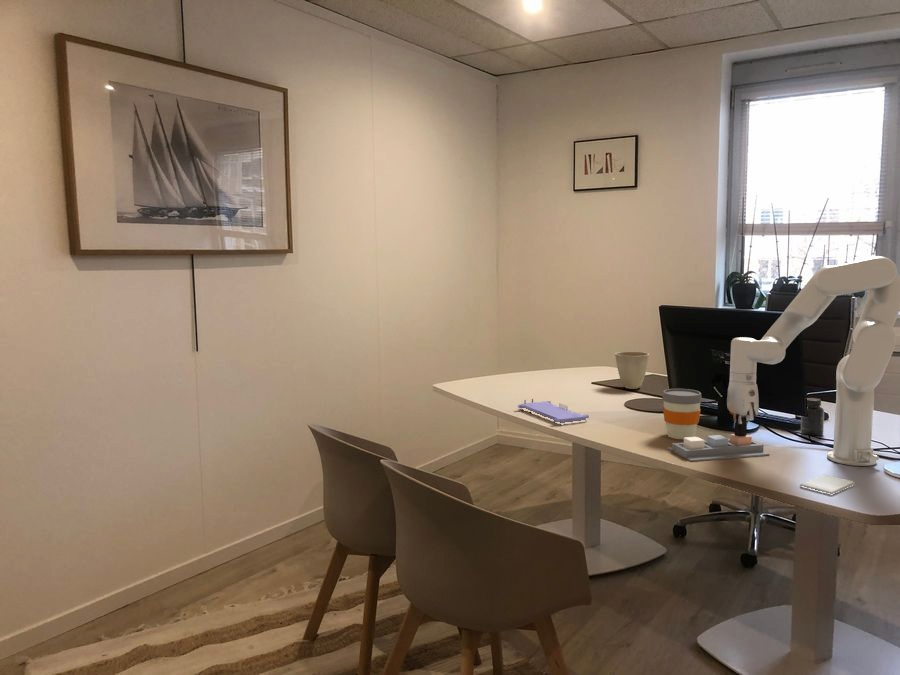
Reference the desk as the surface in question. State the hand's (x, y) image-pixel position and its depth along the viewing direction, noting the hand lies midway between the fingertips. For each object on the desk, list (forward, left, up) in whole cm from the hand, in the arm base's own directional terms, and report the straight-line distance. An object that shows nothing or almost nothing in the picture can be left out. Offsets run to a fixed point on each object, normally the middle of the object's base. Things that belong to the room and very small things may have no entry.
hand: (740, 435), depth 216 cm
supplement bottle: (+11, -34, -5) cm, 36 cm away
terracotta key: (0, 0, -3) cm, 3 cm away
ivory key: (0, +16, -3) cm, 16 cm away
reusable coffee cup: (+20, +9, -5) cm, 22 cm away
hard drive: (-35, -2, -6) cm, 35 cm away
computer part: (+59, +41, -5) cm, 72 cm away
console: (0, +8, -5) cm, 9 cm away
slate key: (0, +8, -3) cm, 8 cm away
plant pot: (+99, -11, -5) cm, 100 cm away
